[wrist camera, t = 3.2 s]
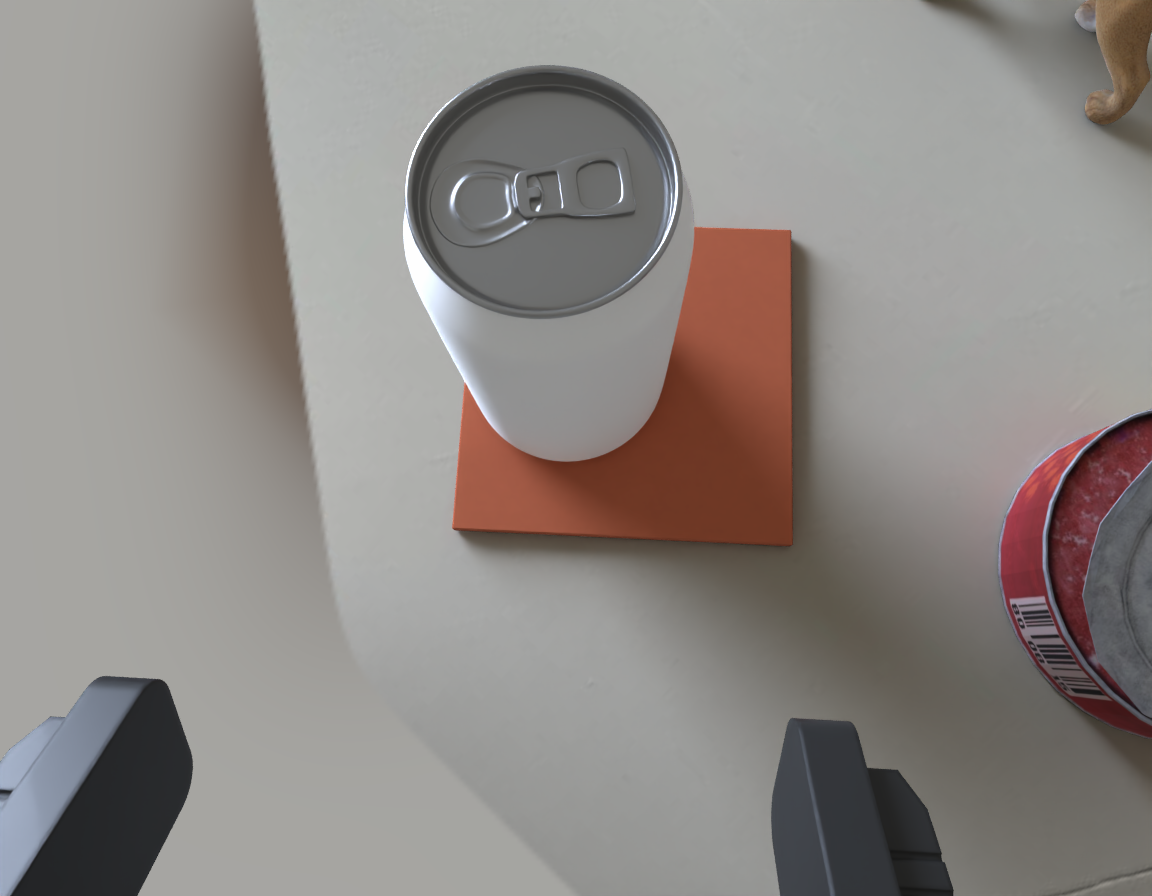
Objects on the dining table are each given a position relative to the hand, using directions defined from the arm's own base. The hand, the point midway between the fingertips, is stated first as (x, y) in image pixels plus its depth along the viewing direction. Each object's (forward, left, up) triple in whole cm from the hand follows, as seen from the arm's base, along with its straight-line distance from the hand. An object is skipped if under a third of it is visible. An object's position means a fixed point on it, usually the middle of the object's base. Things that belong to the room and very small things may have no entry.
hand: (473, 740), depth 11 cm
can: (0, +10, -16) cm, 19 cm away
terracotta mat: (+2, +10, -16) cm, 19 cm away
